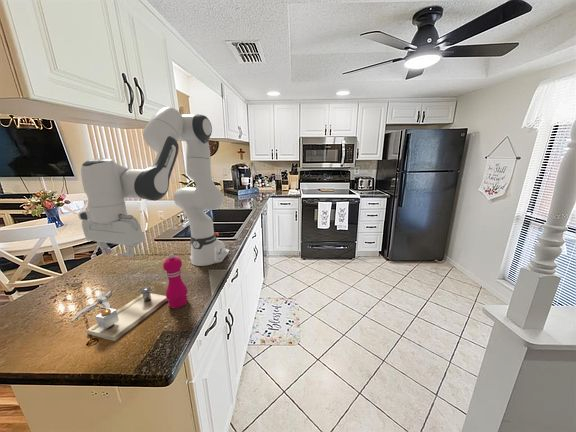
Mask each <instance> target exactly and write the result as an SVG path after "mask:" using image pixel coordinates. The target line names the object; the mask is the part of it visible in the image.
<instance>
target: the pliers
mask: <svg viewBox="0 0 576 432" xmlns="http://www.w3.org/2000/svg"><path fill="white" fill-rule="evenodd" d="M111 295H112V291H111V290H109V291H108V292H107V293H106V294H104V292H100V293H99V295H98V296H97V298H96V301H95V302H94V303H91V304H90V305H88V306H86V307H84V308H83V309H81V310H80V311H79V312H77V313H76V314H75V315H74V316H73V317H72V319H71V323H73V322H74V321H75V320H76V319H78V318H79V317H80V316H81V315H83V314H84V313H86V312H88V311H91V310H93V309H95V308H96V307H97V306H96V305H98V304H99V303H101V304H102V305H103V306H102V305H100V304H99V308H100V309H104V310H105V309H108V308H111V304H110V302H109V301H107V300H108V299H109V298H110V296H111Z"/></svg>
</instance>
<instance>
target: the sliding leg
mask: <svg viewBox="0 0 576 432" xmlns="http://www.w3.org/2000/svg"><path fill="white" fill-rule="evenodd" d="M117 310H118V309H116V308H111V307H110V308H108V309H105V308H104V309H103V310H101V312H100V313H99V314H97V315H95V317H96V322H97V323H98V327H99V328H103V329H107V328H108V327H110V326H111V325H113V324H114V323H116V322H117V321H119V319H118V315H117ZM97 323H96V324H97Z"/></svg>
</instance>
